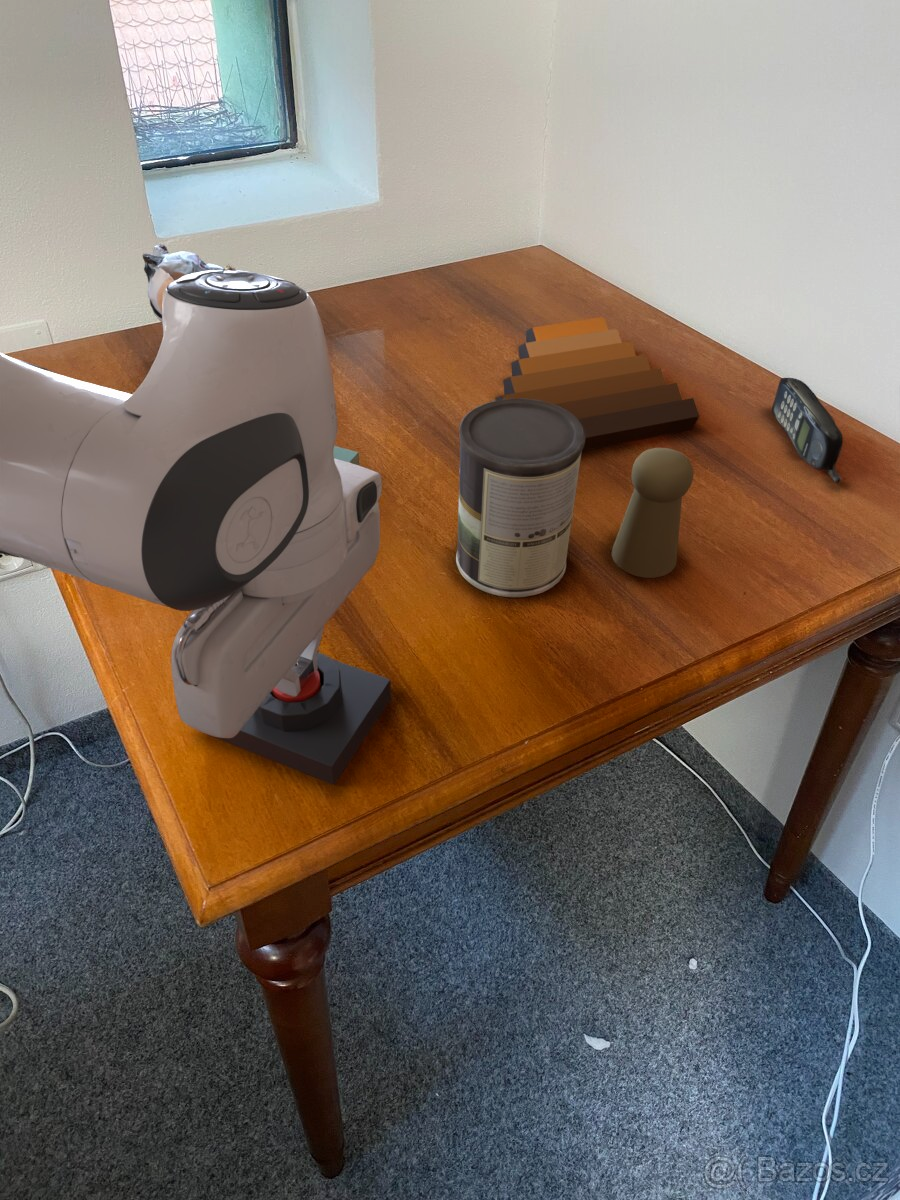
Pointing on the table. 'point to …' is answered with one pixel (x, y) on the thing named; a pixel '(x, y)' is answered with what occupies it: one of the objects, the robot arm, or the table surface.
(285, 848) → the table surface
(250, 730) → the button block
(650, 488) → the game pawn
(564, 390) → the pan flute
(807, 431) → the mobile phone
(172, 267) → the lucky cat figurine
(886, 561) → the table surface
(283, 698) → the button
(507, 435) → the coffee can
